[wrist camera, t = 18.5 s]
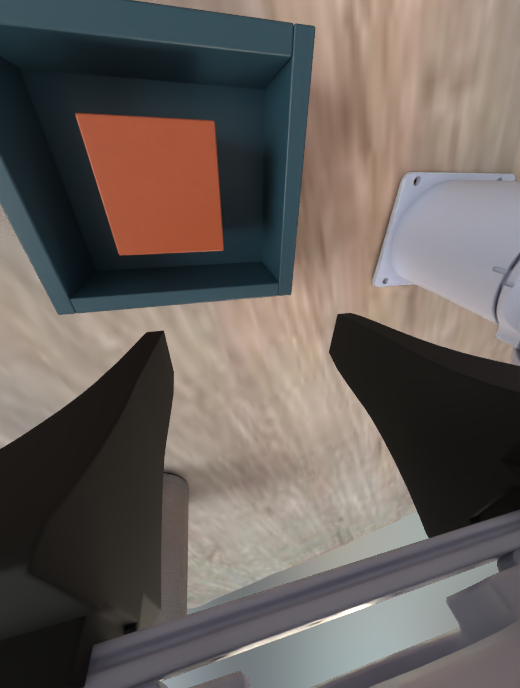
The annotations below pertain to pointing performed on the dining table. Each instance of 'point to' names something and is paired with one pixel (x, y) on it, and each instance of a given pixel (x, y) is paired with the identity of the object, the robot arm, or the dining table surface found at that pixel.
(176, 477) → the pillar candle
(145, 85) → the toy box
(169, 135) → the block
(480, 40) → the dining table surface
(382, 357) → the robot arm
